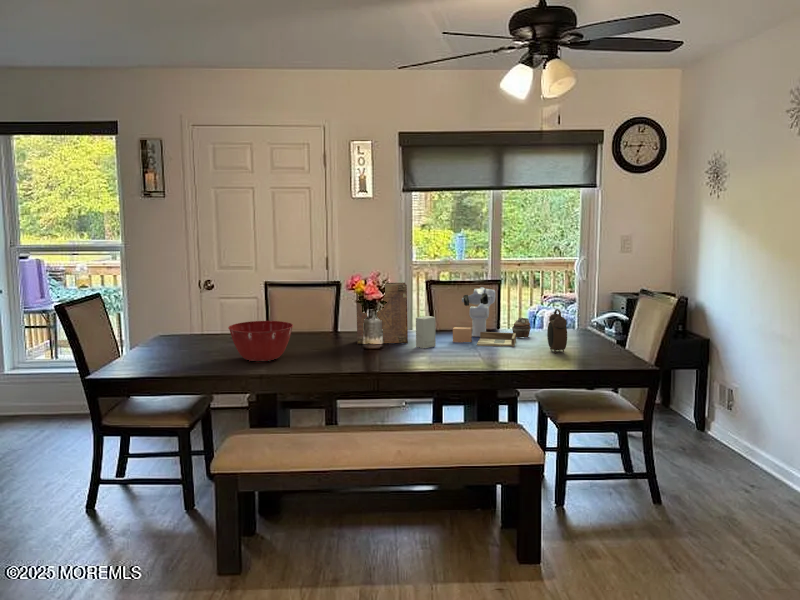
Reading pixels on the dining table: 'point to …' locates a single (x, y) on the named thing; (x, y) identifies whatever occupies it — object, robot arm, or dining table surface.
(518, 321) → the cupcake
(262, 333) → the mixing bowl
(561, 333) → the brown backpack
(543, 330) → the dining table surface
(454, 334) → the block
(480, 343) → the wooden tray
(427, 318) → the skincare box
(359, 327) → the brown upright rectangular box
